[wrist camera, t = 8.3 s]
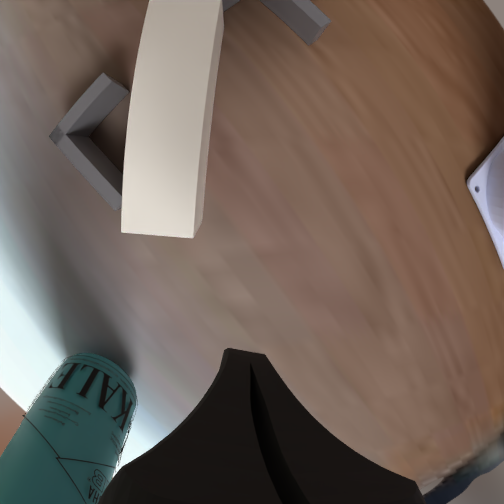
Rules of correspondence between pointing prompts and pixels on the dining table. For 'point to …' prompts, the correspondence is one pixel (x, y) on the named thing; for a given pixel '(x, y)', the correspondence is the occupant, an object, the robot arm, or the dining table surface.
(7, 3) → the dining table surface
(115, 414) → the beverage bottle
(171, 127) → the cream rectangular block
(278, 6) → the end cap
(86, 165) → the end cap
